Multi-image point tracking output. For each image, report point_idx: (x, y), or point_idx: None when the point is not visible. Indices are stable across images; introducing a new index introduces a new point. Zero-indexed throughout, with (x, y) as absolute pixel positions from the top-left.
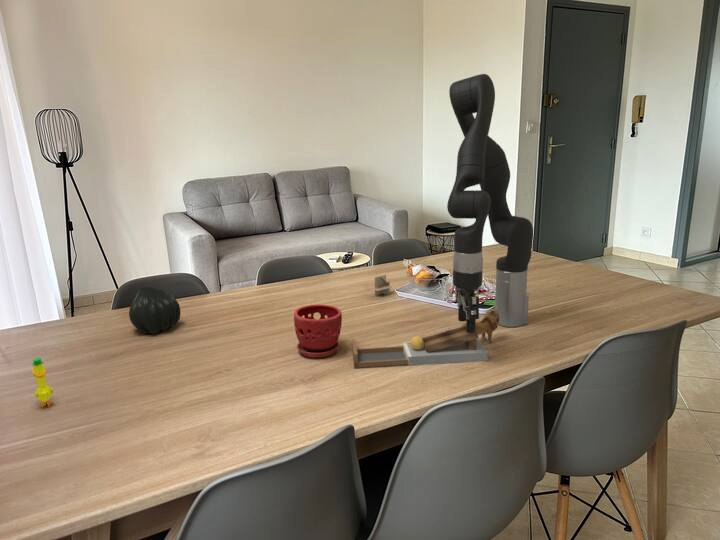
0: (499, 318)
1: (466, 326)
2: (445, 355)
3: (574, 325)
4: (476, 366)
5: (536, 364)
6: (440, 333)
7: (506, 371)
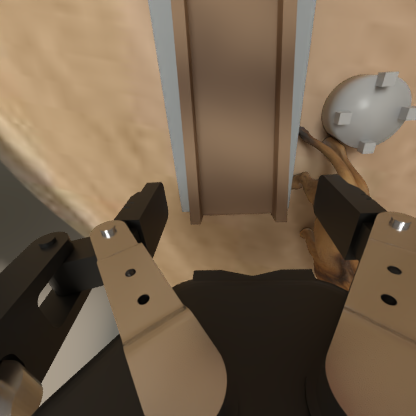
0: None
1: (149, 194)
2: (157, 57)
3: None
4: (148, 163)
5: None
6: (282, 42)
7: None
